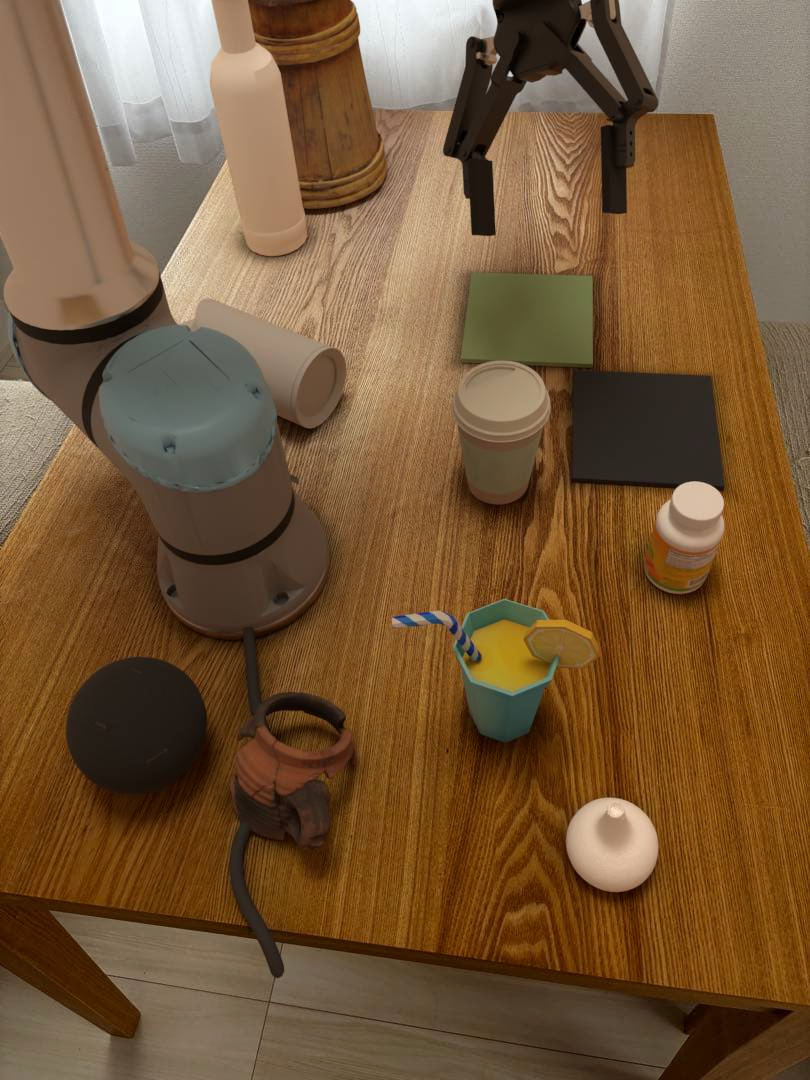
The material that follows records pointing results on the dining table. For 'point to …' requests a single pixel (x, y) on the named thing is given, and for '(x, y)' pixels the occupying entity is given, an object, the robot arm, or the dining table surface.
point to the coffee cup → (500, 427)
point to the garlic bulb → (612, 844)
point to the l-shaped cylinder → (282, 362)
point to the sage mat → (529, 320)
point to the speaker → (136, 725)
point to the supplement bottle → (685, 538)
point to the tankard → (324, 97)
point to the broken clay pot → (288, 773)
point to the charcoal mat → (645, 429)
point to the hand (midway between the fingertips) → (545, 225)
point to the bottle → (256, 134)
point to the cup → (509, 660)
